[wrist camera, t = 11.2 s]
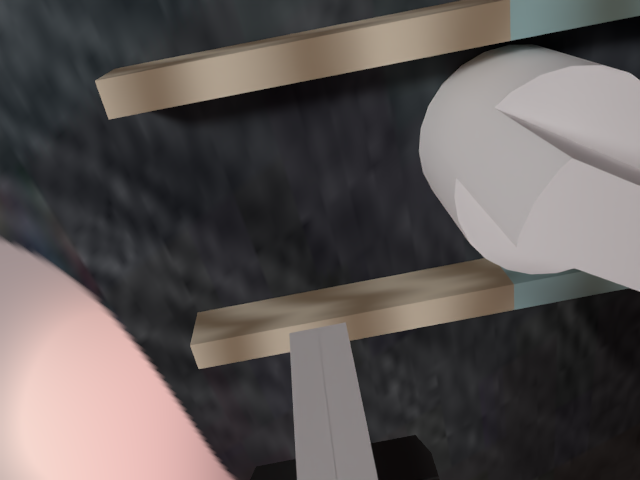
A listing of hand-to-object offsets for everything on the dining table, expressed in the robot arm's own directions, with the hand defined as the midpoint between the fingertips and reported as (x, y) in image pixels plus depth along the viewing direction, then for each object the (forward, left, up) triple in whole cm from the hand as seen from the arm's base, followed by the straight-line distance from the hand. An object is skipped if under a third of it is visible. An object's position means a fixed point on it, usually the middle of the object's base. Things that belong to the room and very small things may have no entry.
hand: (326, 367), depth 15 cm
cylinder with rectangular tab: (+11, 0, -15) cm, 18 cm away
